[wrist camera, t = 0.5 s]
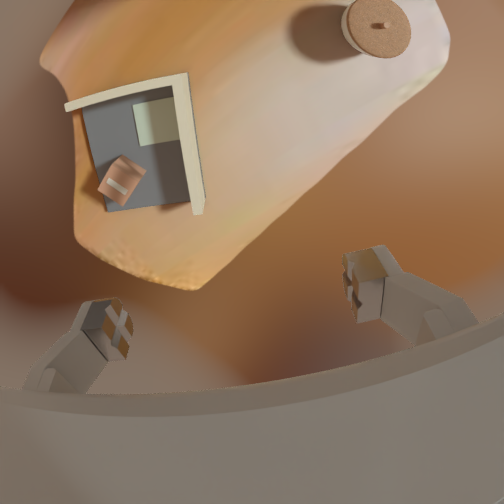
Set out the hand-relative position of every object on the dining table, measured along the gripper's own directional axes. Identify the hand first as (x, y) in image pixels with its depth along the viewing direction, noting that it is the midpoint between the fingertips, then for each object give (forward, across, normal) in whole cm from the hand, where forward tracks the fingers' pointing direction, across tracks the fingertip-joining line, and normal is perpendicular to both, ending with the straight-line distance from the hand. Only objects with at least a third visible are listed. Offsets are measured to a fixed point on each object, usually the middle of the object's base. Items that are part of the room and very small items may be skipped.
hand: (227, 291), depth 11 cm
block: (+43, +21, +6) cm, 48 cm away
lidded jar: (+44, -24, -11) cm, 52 cm away
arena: (+44, +17, +2) cm, 47 cm away
